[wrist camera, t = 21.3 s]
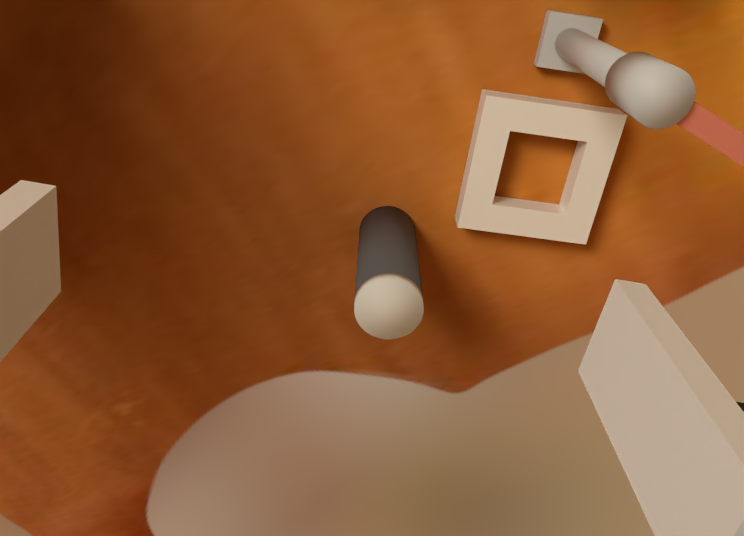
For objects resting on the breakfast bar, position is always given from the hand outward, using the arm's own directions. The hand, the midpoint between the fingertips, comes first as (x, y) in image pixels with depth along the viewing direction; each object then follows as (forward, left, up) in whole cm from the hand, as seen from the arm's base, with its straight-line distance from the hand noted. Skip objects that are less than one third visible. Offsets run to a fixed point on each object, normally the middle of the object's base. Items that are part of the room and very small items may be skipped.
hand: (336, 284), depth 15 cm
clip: (+19, +1, -20) cm, 28 cm away
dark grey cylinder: (+4, -13, -34) cm, 36 cm away
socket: (+14, -3, -34) cm, 36 cm away
